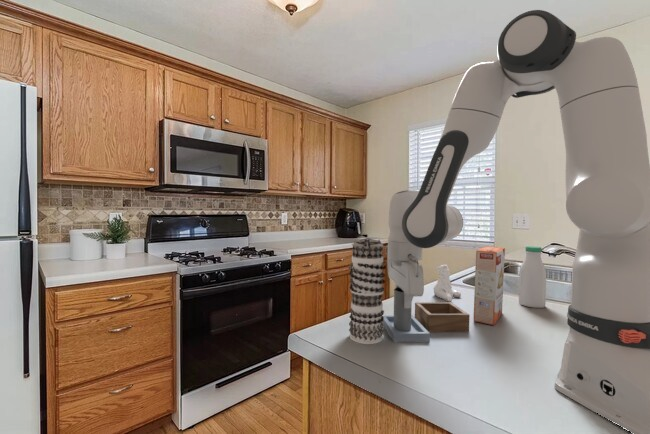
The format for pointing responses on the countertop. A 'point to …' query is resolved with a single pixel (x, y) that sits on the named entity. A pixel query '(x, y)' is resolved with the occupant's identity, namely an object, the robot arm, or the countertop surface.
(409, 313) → the grey cylinder
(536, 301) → the milk bottle
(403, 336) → the tray
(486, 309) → the cracker box
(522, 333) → the countertop surface
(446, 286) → the sitting furry creature
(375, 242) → the decorative candle
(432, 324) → the box
